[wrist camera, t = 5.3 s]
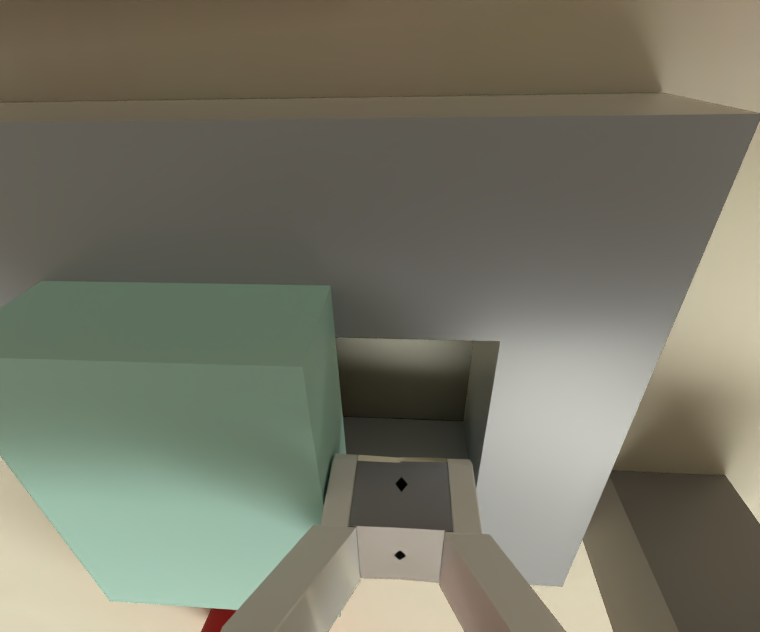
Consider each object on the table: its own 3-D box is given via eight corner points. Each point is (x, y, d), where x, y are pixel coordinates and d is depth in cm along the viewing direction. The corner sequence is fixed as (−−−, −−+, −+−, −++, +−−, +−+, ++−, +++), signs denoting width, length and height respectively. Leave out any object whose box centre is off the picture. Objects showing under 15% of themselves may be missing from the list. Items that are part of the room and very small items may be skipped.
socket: (663, 93, 9) (762, 113, 6) (539, 502, 16) (562, 586, 14) (-16, 102, 10) (-164, 124, 7) (163, 484, 17) (120, 559, 15)
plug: (724, 475, 15) (882, 695, 10) (683, 539, 17) (795, 746, 12) (606, 469, 15) (701, 681, 10) (580, 533, 17) (648, 734, 12)
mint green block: (330, 285, 8) (301, 366, 6) (352, 522, 13) (340, 617, 11) (42, 281, 9) (-74, 355, 7) (158, 511, 13) (109, 600, 11)
